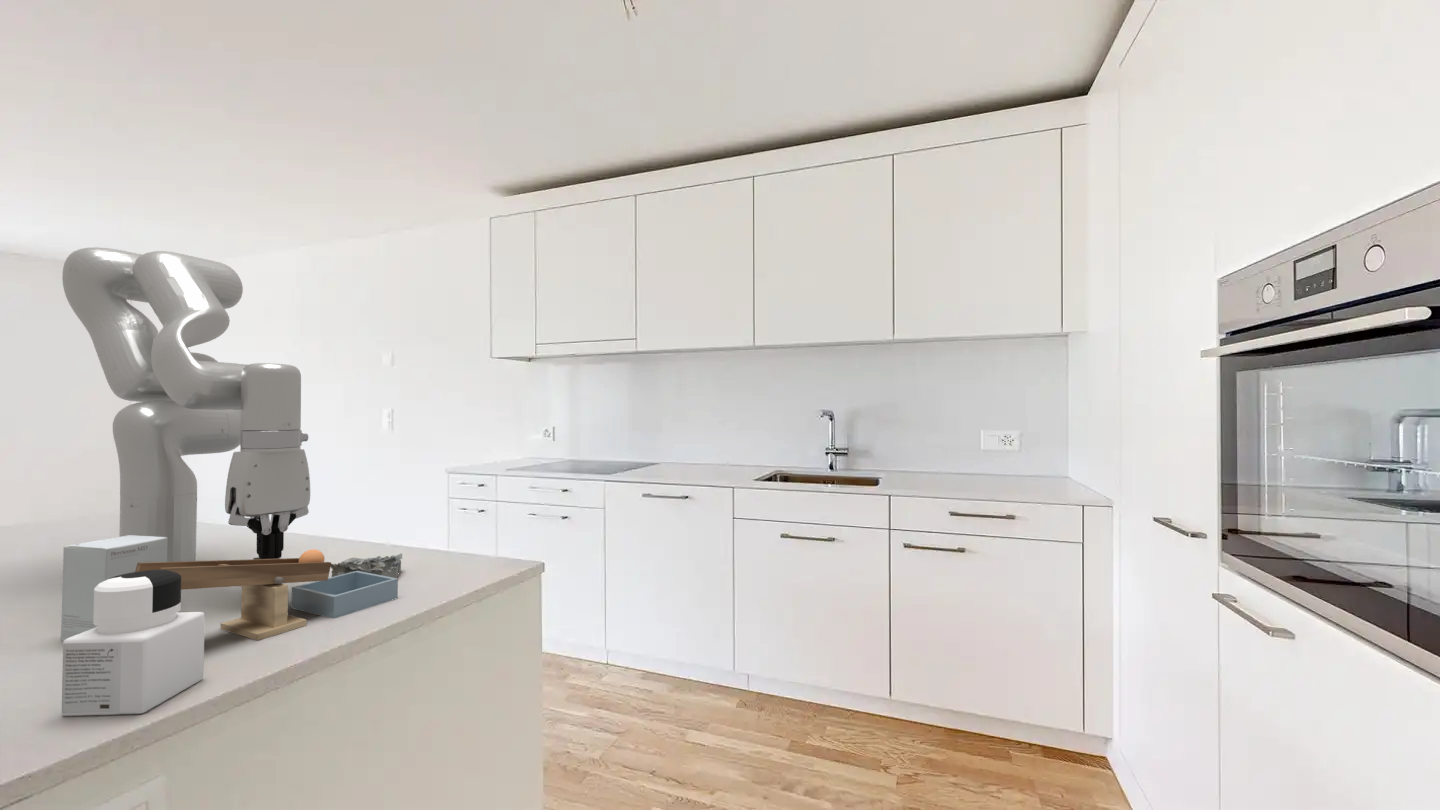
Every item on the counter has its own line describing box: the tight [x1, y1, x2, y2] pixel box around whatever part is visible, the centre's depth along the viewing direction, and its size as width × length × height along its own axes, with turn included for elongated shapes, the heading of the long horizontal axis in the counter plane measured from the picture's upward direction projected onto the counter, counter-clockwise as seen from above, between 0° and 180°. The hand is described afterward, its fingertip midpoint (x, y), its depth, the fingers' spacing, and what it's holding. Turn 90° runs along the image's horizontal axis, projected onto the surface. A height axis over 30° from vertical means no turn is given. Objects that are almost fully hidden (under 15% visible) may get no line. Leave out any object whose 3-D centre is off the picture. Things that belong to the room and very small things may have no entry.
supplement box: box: [60, 535, 168, 642], centre depth 78 cm, size 7×7×13 cm
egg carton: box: [330, 553, 403, 579], centre depth 105 cm, size 11×8×4 cm
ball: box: [298, 549, 326, 563], centre depth 87 cm, size 3×3×3 cm
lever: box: [135, 556, 332, 591], centre depth 81 cm, size 17×21×3 cm
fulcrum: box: [219, 583, 307, 641], centre depth 81 cm, size 9×6×6 cm, turn 66°
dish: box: [291, 571, 399, 619], centre depth 91 cm, size 10×10×4 cm
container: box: [61, 570, 205, 717], centre depth 61 cm, size 8×8×13 cm
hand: (270, 557), depth 91 cm, fingers closed
